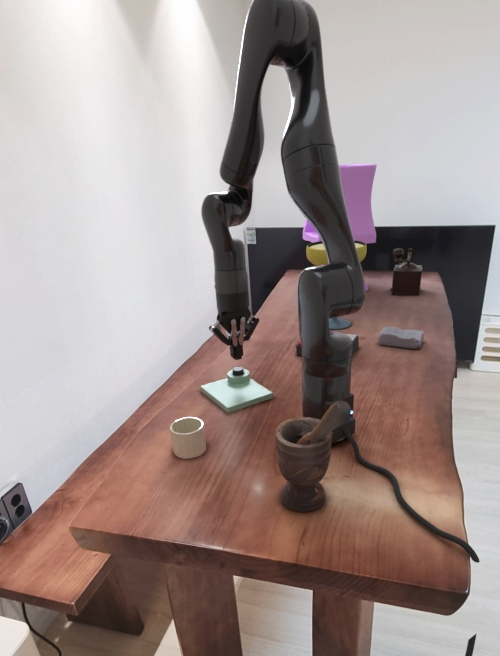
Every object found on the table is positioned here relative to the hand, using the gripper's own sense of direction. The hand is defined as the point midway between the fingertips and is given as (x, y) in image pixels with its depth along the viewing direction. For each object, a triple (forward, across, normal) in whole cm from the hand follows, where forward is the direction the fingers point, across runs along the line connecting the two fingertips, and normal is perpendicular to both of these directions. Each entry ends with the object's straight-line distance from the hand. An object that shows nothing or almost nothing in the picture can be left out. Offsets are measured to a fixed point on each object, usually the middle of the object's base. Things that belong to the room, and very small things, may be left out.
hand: (237, 358), depth 113 cm
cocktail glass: (+7, +47, +20) cm, 52 cm away
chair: (+7, +78, +55) cm, 96 cm away
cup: (+7, -23, -20) cm, 31 cm away
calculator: (+7, +30, +2) cm, 31 cm away
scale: (+7, -4, -5) cm, 9 cm away
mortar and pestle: (+7, -12, -46) cm, 48 cm away
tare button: (+4, 0, 0) cm, 4 cm away
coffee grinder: (+7, +90, +29) cm, 95 cm away
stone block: (+7, +51, -6) cm, 52 cm away
